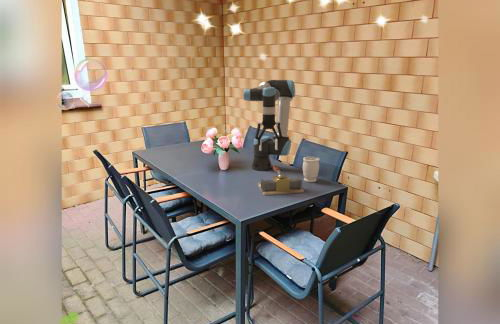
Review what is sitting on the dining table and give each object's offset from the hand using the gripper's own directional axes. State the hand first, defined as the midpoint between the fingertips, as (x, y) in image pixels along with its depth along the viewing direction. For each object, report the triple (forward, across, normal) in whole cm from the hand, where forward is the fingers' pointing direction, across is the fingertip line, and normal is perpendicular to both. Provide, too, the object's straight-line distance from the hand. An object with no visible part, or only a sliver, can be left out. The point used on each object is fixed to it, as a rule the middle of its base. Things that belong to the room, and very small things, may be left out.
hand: (268, 149), depth 217 cm
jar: (+24, +30, +5) cm, 39 cm away
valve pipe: (+24, +6, -10) cm, 26 cm away
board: (+24, +6, -6) cm, 25 cm away
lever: (+15, +6, -3) cm, 16 cm away
